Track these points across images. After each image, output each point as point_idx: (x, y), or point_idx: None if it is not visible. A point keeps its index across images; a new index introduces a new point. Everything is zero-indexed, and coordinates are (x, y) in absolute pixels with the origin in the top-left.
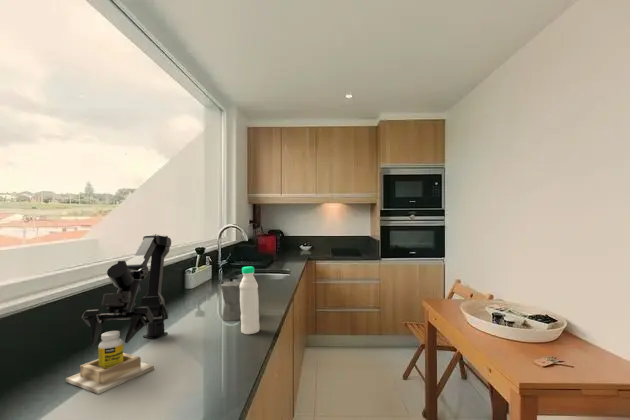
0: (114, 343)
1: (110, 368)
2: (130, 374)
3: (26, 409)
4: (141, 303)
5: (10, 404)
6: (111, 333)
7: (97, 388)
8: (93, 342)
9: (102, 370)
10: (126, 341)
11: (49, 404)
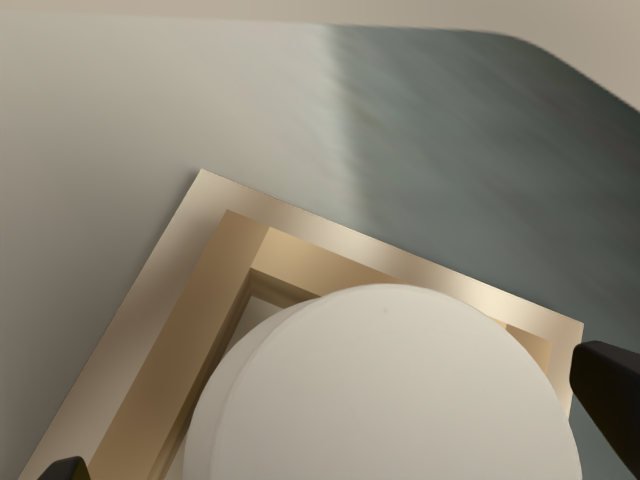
0: (228, 367)
1: (205, 282)
2: (92, 402)
3: (469, 60)
4: None
5: (598, 99)
6: (367, 446)
7: (222, 189)
8: (592, 365)
9: (253, 244)
10: (52, 467)
11: (400, 94)
